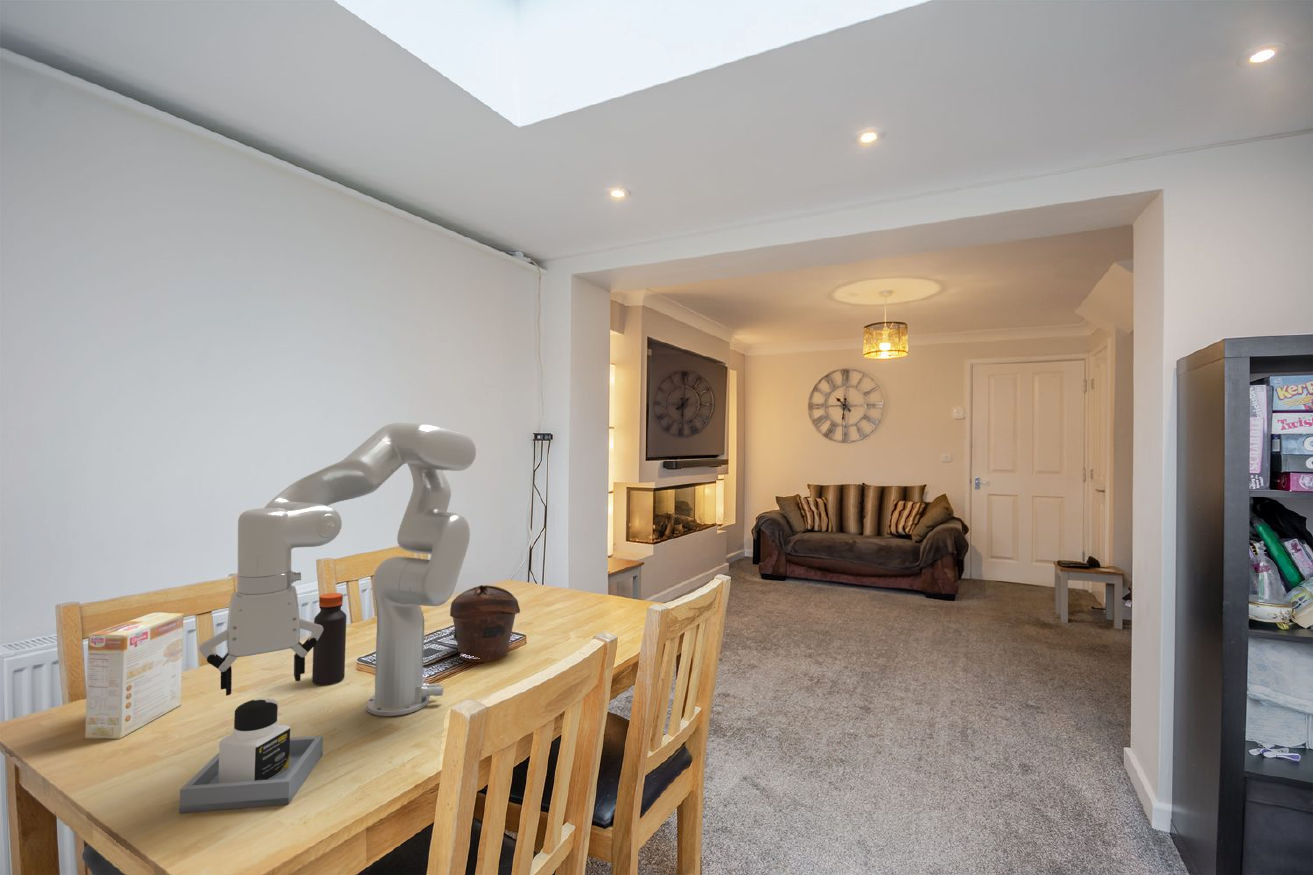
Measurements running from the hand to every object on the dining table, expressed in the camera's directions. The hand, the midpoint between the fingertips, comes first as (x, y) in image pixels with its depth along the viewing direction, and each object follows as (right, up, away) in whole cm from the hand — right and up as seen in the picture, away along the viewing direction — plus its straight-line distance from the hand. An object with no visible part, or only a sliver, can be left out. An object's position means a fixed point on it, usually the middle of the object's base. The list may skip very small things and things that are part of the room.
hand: (263, 685), depth 100 cm
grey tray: (-1, -16, -1) cm, 16 cm away
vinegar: (-12, -16, +42) cm, 46 cm away
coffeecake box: (-38, -15, +19) cm, 45 cm away
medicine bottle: (-1, -15, -1) cm, 15 cm away
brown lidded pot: (+19, -17, +62) cm, 67 cm away
